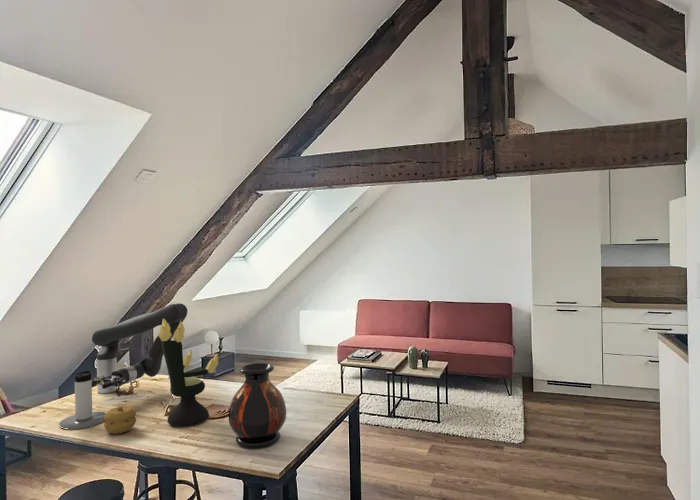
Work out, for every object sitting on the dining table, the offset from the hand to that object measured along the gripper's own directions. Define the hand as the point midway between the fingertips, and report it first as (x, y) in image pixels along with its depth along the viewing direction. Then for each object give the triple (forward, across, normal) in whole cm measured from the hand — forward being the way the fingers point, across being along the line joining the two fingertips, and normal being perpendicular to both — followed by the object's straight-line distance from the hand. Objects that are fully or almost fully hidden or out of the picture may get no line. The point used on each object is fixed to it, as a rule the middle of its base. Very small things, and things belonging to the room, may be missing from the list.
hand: (95, 385), depth 203 cm
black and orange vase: (+3, +83, +14) cm, 84 cm away
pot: (+10, +24, +14) cm, 30 cm away
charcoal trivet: (+6, 0, +13) cm, 15 cm away
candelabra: (-4, +44, +14) cm, 46 cm away
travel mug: (+6, 0, +13) cm, 14 cm away
